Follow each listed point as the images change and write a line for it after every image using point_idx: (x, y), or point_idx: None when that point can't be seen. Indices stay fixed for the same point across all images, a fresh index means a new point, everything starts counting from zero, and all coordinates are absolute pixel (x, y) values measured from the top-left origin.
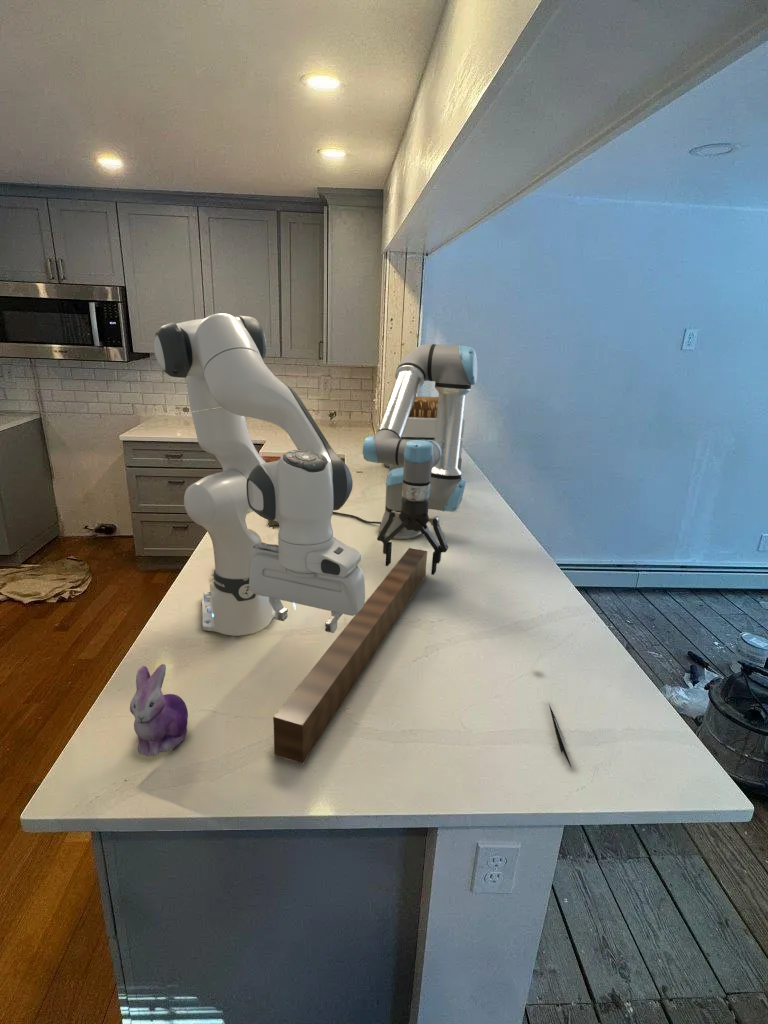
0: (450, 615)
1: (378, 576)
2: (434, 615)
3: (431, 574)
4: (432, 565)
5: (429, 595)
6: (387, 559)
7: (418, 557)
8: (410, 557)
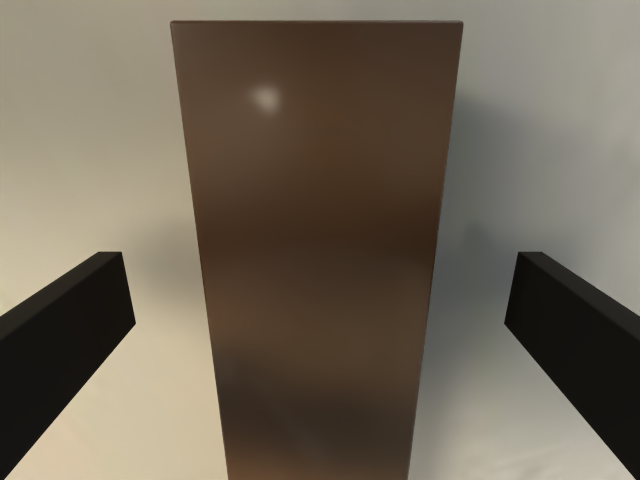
0: (573, 429)
1: (98, 205)
2: (502, 450)
3: (507, 324)
4: (557, 379)
5: (458, 306)
6: (95, 361)
7: (387, 282)
8: (301, 315)
